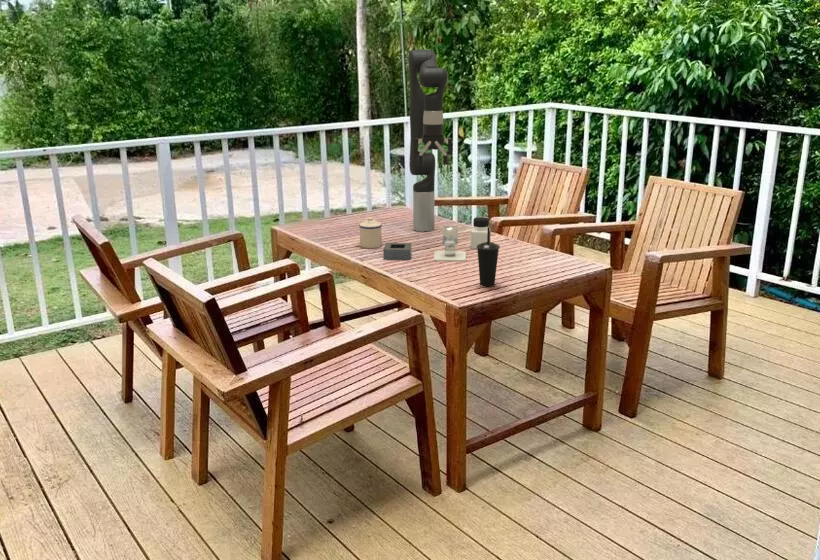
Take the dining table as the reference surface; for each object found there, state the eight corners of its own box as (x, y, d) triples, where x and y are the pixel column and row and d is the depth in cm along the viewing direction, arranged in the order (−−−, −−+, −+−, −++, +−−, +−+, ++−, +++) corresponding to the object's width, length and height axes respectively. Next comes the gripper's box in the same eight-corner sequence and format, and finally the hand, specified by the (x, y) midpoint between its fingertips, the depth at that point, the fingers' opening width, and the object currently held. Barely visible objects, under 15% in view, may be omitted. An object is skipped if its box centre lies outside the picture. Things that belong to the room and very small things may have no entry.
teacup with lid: (386, 246, 297) (386, 218, 294) (367, 250, 292) (367, 221, 289) (370, 240, 307) (369, 212, 303) (351, 243, 301) (350, 216, 298)
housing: (386, 252, 288) (385, 242, 287) (411, 252, 288) (411, 242, 287) (383, 259, 279) (383, 249, 278) (409, 260, 278) (409, 249, 277)
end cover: (442, 253, 285) (442, 225, 281) (457, 253, 284) (457, 225, 281) (442, 257, 279) (442, 229, 276) (457, 257, 279) (457, 229, 276)
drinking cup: (475, 288, 246) (476, 229, 240) (476, 281, 253) (477, 224, 247) (498, 289, 245) (499, 230, 239) (499, 282, 252) (500, 224, 246)
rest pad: (434, 252, 288) (434, 250, 288) (465, 252, 287) (465, 251, 287) (433, 261, 277) (433, 259, 277) (465, 261, 276) (465, 259, 276)
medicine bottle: (488, 249, 292) (489, 219, 288) (470, 248, 293) (471, 219, 289) (490, 245, 298) (491, 215, 295) (472, 244, 300) (473, 215, 296)
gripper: (452, 121, 283) (451, 163, 288) (415, 121, 284) (415, 163, 289) (451, 123, 276) (451, 167, 281) (413, 123, 277) (414, 166, 282)
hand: (433, 165), depth 285 cm, fingers open, 8 cm apart
